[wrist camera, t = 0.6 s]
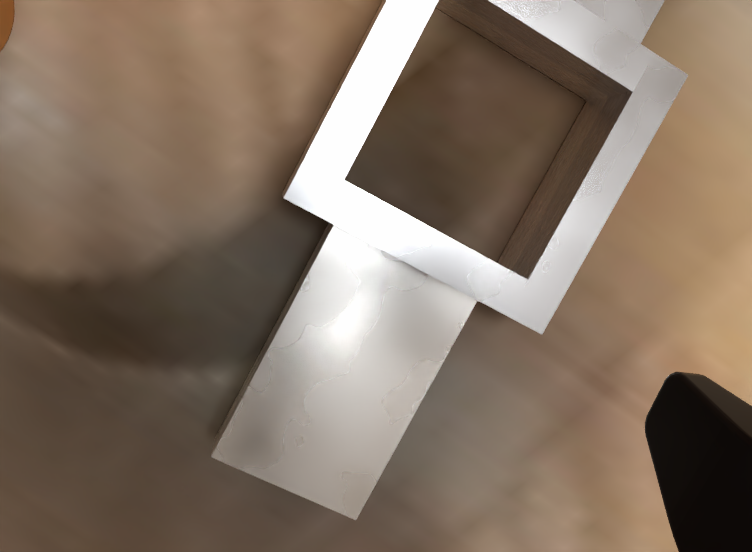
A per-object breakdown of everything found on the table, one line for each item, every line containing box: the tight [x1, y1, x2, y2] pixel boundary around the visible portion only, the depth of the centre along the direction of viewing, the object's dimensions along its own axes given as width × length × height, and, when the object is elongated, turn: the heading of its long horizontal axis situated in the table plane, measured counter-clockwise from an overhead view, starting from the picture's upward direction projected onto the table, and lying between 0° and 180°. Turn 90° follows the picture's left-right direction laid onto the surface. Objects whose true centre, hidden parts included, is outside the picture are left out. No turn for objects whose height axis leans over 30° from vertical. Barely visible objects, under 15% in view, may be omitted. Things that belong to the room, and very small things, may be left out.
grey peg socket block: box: [211, 0, 688, 520], centre depth 21 cm, size 24×8×3 cm, turn 152°
